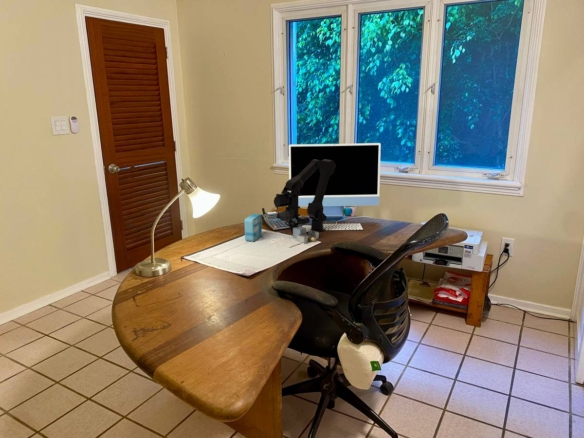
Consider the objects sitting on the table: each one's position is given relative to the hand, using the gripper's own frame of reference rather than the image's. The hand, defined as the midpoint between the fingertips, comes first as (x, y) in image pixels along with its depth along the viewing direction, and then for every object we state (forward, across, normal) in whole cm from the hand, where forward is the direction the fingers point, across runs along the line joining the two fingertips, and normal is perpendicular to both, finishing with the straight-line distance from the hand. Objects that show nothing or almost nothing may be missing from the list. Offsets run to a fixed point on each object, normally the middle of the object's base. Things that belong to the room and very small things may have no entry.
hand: (292, 233), depth 228 cm
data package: (+2, -12, -16) cm, 21 cm away
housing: (+1, +10, 0) cm, 10 cm away
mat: (+2, +4, -10) cm, 11 cm away
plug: (+1, +9, 0) cm, 9 cm away
